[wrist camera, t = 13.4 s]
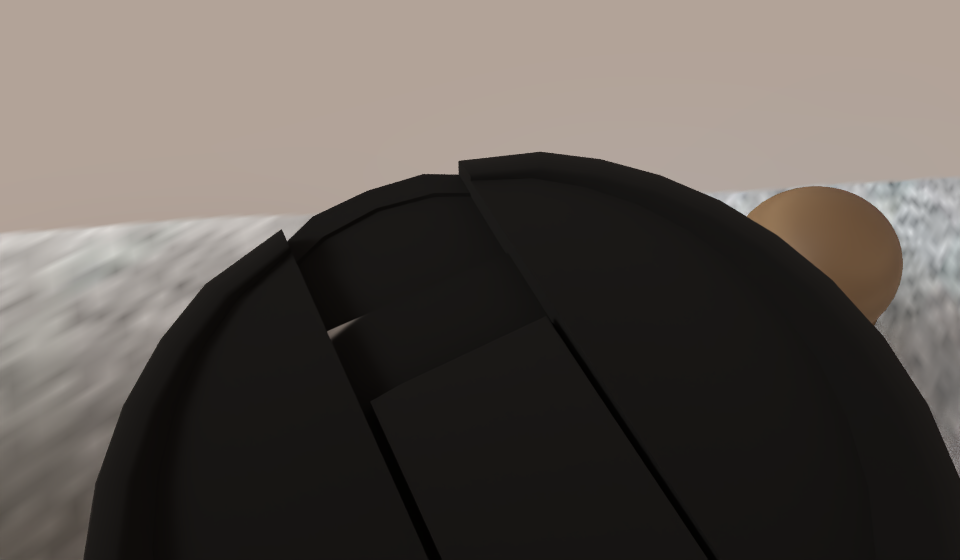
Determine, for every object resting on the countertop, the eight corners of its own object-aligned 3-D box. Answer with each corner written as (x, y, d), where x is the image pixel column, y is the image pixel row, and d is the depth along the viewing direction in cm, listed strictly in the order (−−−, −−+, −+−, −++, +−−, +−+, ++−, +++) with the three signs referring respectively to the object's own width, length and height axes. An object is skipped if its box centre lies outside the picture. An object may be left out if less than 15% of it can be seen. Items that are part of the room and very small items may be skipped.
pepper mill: (607, 406, 26) (721, 230, 15) (664, 329, 28) (804, 119, 16) (704, 477, 25) (908, 344, 13) (756, 391, 26) (977, 211, 15)
